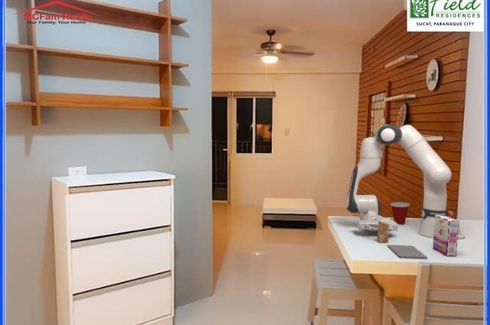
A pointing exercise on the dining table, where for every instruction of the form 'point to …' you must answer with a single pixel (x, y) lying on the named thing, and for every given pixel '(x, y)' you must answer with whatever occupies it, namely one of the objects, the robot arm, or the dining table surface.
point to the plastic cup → (400, 211)
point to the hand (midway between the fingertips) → (381, 229)
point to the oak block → (383, 232)
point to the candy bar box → (445, 235)
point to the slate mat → (407, 251)
